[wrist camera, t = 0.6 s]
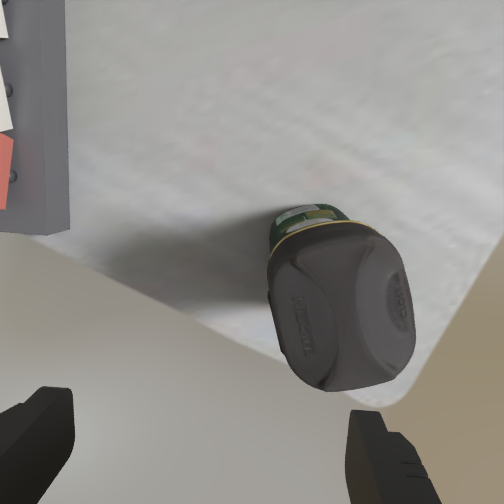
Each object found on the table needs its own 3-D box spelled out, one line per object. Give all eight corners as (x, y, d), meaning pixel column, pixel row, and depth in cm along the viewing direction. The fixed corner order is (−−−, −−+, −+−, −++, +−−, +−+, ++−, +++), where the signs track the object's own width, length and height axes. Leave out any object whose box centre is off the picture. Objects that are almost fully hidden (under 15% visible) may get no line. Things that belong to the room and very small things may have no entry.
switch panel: (-38, -50, 35) (-88, -86, 30) (63, -46, 35) (28, -81, 30) (-19, 222, 40) (-60, 229, 35) (69, 229, 40) (40, 237, 35)
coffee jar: (364, 290, 39) (440, 393, 21) (284, 307, 40) (293, 421, 22) (344, 193, 38) (409, 214, 19) (261, 213, 38) (250, 251, 20)
